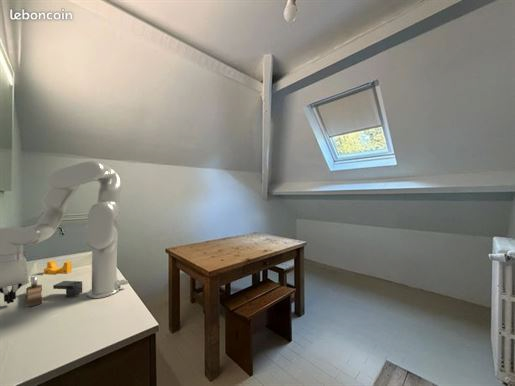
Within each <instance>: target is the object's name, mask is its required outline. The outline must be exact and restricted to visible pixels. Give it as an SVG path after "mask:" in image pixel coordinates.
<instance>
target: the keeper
mask: <svg viewBox="0 0 515 386" xmlns="http://www.w3.org/2000/svg"><path fill="white" fill-rule="evenodd" d="M52 288H53V290H65V298H71V299H72V298H74V297H77V296H78V295H80V294H82V293H83V281H78V280H63V281H60V282H58V283H56V284H54V285H53V287H52Z"/></svg>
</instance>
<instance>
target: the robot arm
mask: <svg viewBox="0 0 515 386" xmlns="http://www.w3.org/2000/svg"><path fill="white" fill-rule="evenodd" d="M94 181H95V182H99V189H98V193H97V194H98V195H97V201H96V203H94V204H93V205H92V206H91V207H90V209H89V211H88V214H87V221H86V228H85V236H84V237H85V238H84V239H85V243H86V245H87V247H89V248H90V249H92V250H91V289H90V290H89V291H87V294H86V295H87V297H88V298H90V299H99V298H105V297H109V296H112V295H115V294H117V293H118V292H120V290H121V286H126V285H128V284H129V280H128V279H126V280H125V279H121V280H119V279H118V275H117V273H118V272H117V269H118V268H117V266H118V264H117V263H118V262H117V261H118V259H117V257H118V242H119V241H118V239H119V235H118V234H119V232H118V229H117V228H116V226H114V225H115V219H116V218H117V217H118V215H119V213H120V211H119V210H120V200H121V190H122V189H121V188H122V182H121V178H120V176H119V173H118V172H116V171H115V170H114V168H111V166H109V165H106V164H104V163H103V162H99V161H95V160H89V161H84V162H79V163H76V164H72V165H69V166H65V167H62V168H61V167H60V168H58V169H55V170H53V171H51V173H49V175H48V177H47V182H48V183H49V185H50V187H49V188H48V189H47V191H46V193H45V194H44V196H42V199H41V204H42V206H43V212H42V215H41V216H40V218H39V220H38V221H37V222H36V224H34V225H30V226H26V227H22V226H16V225H15V226H12V225H11V226H5V227H0V293H1V294H3V301H4V303H5V302H6V303H7V305H9V304H12V303H14V301H15V300H16V298H17V295H16V294H17V291H18V290H19V289H20V288H21V287H22V286H26V285H28V284H29V283H30V281H29V268H28V262H27V261H28V260H27V259H26V256H28V255H29V251H24V246H32V245H35V244H38V243H41V242H44V241H45V240H47V239H48V240H49V238H51V236H53V235H54V233H55V232H56V231H57V229H58V227H59V225H60V224H61V223H62V220H63V218H64V215H65V213H66V209H67V207H68V205H69V203H70V202H71V200H73V199H72V198H73V197H74V196H75V194H76V192H77V191H78V189H79V188H80V186H81V185H85V184H87V183H92V182H94ZM8 287H11V289H10V290H9V288H8ZM119 289H120V290H119ZM117 291H118V292H117ZM116 292H117V293H116Z"/></svg>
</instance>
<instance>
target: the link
mask: <svg viewBox="0 0 515 386" xmlns="http://www.w3.org/2000/svg"><path fill="white" fill-rule="evenodd" d="M25 291H26V292H25V293H26V295H27V308H29V307H33V306H38V305H41V304H42V303H43V301H42V299H43V298H42V297H43V296H42V291H43V285H42V284H37V286H36V287H31V285H30V286H28V287H26V290H25Z"/></svg>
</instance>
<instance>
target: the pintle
mask: <svg viewBox="0 0 515 386" xmlns="http://www.w3.org/2000/svg"><path fill="white" fill-rule="evenodd" d="M37 285H38V276H33V277H31V278H30V286H31V287H36V286H37Z"/></svg>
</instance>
